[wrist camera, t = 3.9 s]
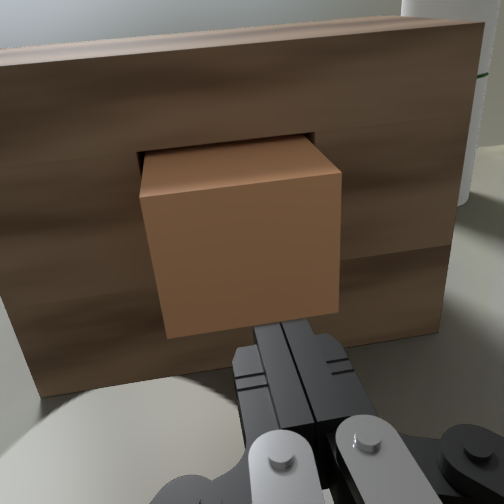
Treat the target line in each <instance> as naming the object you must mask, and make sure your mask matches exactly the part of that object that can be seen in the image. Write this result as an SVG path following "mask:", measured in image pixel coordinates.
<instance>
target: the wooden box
mask: <svg viewBox="0 0 504 504" xmlns="http://www.w3.org/2000/svg"><path fill="white" fill-rule="evenodd" d="M484 27H485V22H477V21H463V20H448V19H434V18H420V17H405V16H391V15H382V16H371V17H359V18H348V19H336V20H324V21H313V22H301V23H290V24H278V25H267V26H255V27H244V28H233V29H222V30H209V31H198V32H187V33H175V34H163V35H152V36H140V37H130V38H118V39H106V40H94V41H84V42H72V43H61V44H48V45H37V46H26V47H14V48H3V49H0V296H1V298H2V301H3V304H4V306H5V309H6V311H7V314H8V316H9V319H10V321H11V324H12V326H13V329H14V332H15V334H16V337H17V339H18V342H19V344H20V347H21V349H22V352H23V355H24V357H25V360H26V362H27V365H28V367H29V370H30V372H31V375H32V377H33V380H34V383H35V385H36V388H37V390H38V393H39V395H40V398H43V397H49V396H55V395H61V394H67V393H73V392H79V391H85V390H92V389H98V388H104V387H109V386H116V385H121V384H128V383H134V382H140V381H145V380H152V379H158V378H164V377H170V376H177V375H183V374H189V373H195V372H201V371H207V370H213V369H219V368H225V367H231V366H233V365H232V361H233V358H234V356H235V353H236V350H237V348H239V347H245V346H252V345H254V341H253V326H248V327H241V328H235V329H228V330H222V331H215V332H209V333H203V334H196V335H190V336H183V337H177V338H171V339H167V335H166V330H165V325H164V320H163V315H162V310H161V305H160V300H159V295H158V290H157V285H156V280H155V275H154V270H153V265H152V260H151V254H150V249H149V244H148V239H147V234H146V229H145V224H144V219H143V214H142V209H141V204H140V199H139V195H140V188H141V181H142V173H143V166H144V158H145V151H148V150H157V149H166V148H175V147H183V146H192V145H201V144H210V143H219V142H228V141H237V140H245V139H254V138H263V137H272V136H281V135H290V134H299V133H302V134H303V135H304V136H305V137H306V138H307V139H308V140H309V141H310V142H311V143H312V144H313V145H314V146H315V147H316V148H317V149H318V150H319V151H320V152H321V153H322V154H323V155H324V156H325V157H326V158H327V159H328V160H330V161H331V162H332V163H333V164H334V165H335V166H336V167H337V168H338V169H339V170H340V171H341V172H342V187H341V230H340V273H339V312H337V313H331V314H324V315H318V316H312V317H305V318H306V319H307V320H308V322H309V324H310V327H311V329H312V331H313V333H314V335H319V334H325V333H328V334H330V335H331V336H332V337H333V338H335V339H336V340H337V341H338V342H340V343H341V344H342V346H343V348H347V347H353V346H359V345H365V344H371V343H377V342H383V341H389V340H395V339H401V338H407V337H414V336H420V335H426V334H432V333H438V330H439V323H440V317H441V310H442V304H443V297H444V290H445V284H446V277H447V271H448V264H449V258H450V251H451V244H452V238H453V231H454V225H455V218H456V211H457V205H458V198H459V192H460V185H461V179H462V172H463V165H464V159H465V152H466V146H467V139H468V132H469V126H470V119H471V113H472V106H473V100H474V93H475V86H476V80H477V73H478V67H479V60H480V53H481V47H482V40H483V34H484ZM299 319H302V318H299ZM292 320H295V319H292ZM286 321H289V320H286ZM280 322H283V321H280ZM280 322H279V324H280ZM273 323H277V322H273ZM267 324H271V323H267ZM260 325H264V324H260ZM254 326H258V325H254Z"/></svg>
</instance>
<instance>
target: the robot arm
mask: <svg viewBox="0 0 504 504" xmlns="http://www.w3.org/2000/svg"><path fill="white" fill-rule="evenodd" d="M253 341H254V345H252V346H245V347H239V348H237V350H236V353H235V356H234V358H233V361H232V365H233V374H234V382H235V391H236V399H237V406H238V411H239V417H240V423H241V428H242V433H243V439H244V445H245V453H244V455H243V457H242V459H241V460H240V461H239V463H238V464H237V465H236V466H235V467H234V468H233V469H232V470H230V471H229V472H227V473H226V474H224V475H222V476H220V477H218V478H216V479H215V480H212V481H211V480H209V479H207V478H205V477H202V476H199V475H185V476H181V477H178V478H176V479H173V480H172V481H170V482H169V483H167V484H166V485H165V486H164V487H163V488H162V489H161V490H160V491H159V492H158V493H157V495H156V496H155V497H154V499H153V500H152V501H151V503H150V504H325V502H324V498H323V494H322V490H323V489H328V488H329V489H330V492H331V495H332V498H333V501H334V504H504V437H502V436H500V435H498V434H496V433H494V432H492V431H490V430H487V429H485V428H483V427H479V426H476V425H470V424H462V425H456V426H453V427H451V428H449V429H448V430H446V432H445V433H444V434H443V436H442V439H441V440H440V439H430V438H420V437H412V436H408V435H404V434H401V433H399V432H397V431H396V430H395V429H394V427H393V426H392V425H390V424H389V423H388V422H386V421H385V420H383V419H381V418H379V416H378V415H377V413H376V411H375V409H374V407H373V405H372V403H371V401H370V399H369V397H368V395H367V393H366V391H365V390H364V388H363V386H362V384H361V382H360V380H359V378H358V376H357V374H356V372H354V368H353V366H352V364H351V362H350V360H348V356H347V354H346V352H345V350H344V348H343V346H342V344H341V343H340V342H338V341H337V340H336V339H335V338H333V337H332V336H331V335H330V334H328V333H325V334H319V335H314V333H313V331H312V329H311V327H310V324H309V322H308V320H307V319H306V318H302V319H295V320H289V321H283V322H280V324H279V322H277V323H271V324H264V325H258V326H253Z"/></svg>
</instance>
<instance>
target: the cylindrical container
mask: <svg viewBox="0 0 504 504" xmlns="http://www.w3.org/2000/svg"><path fill="white" fill-rule="evenodd" d="M500 1H501V0H402V8H401V16H405V17H420V18H434V19H448V20H463V21H477V22H485V27H484V34H483V40H482V47H481V53H480V60H479V67H478V73H477V80H476V86H475V93H474V100H473V106H472V113H471V119H470V126H469V132H468V139H467V146H466V152H465V159H464V165H463V172H462V179H461V185H460V192H459V198H458V205H457V207H458V206H460V205H463V204H464V203H465V202H467V200H468V197H469V191H470V185H471V179H472V173H473V166H474V160H475V154H476V148H477V142H478V135H479V129H480V123H481V117H482V111H483V104H484V98H485V92H486V86H487V79H488V71H489V68H490V62H491V56H492V50H493V44H494V38H495V32H496V25H497V20H498V13H499V6H500Z"/></svg>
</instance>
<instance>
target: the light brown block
mask: <svg viewBox="0 0 504 504" xmlns="http://www.w3.org/2000/svg"><path fill="white" fill-rule="evenodd" d="M341 187H342V172H341V171H340V170H339V169H338V168H337V167H336V166H335V165H334V164H333V163H332V162H331V161H330V160H328V159H327V158H326V157H325V156H324V155H323V154H322V153H321V152H320V151H319V150H318V149H317V148H316V147H315V146H314V145H313V144H312V143H311V142H310V141H309V140H308V139H307V138H306V137H305V136H304V135H303V134H302V133H299V134H290V135H281V136H272V137H263V138H254V139H245V140H237V141H228V142H219V143H210V144H201V145H192V146H183V147H175V148H166V149H157V150H148V151H145V158H144V166H143V173H142V181H141V188H140V195H139V199H140V204H141V209H142V214H143V219H144V224H145V229H146V234H147V239H148V244H149V249H150V254H151V260H152V265H153V270H154V275H155V280H156V285H157V290H158V295H159V300H160V305H161V310H162V315H163V320H164V325H165V330H166V335H167V339H171V338H177V337H183V336H190V335H196V334H203V333H209V332H215V331H222V330H228V329H235V328H241V327H248V326H254V325H260V324H267V323H273V322H280V321H286V320H292V319H299V318H305V317H312V316H318V315H324V314H331V313H337V312H339V273H340V230H341Z"/></svg>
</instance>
